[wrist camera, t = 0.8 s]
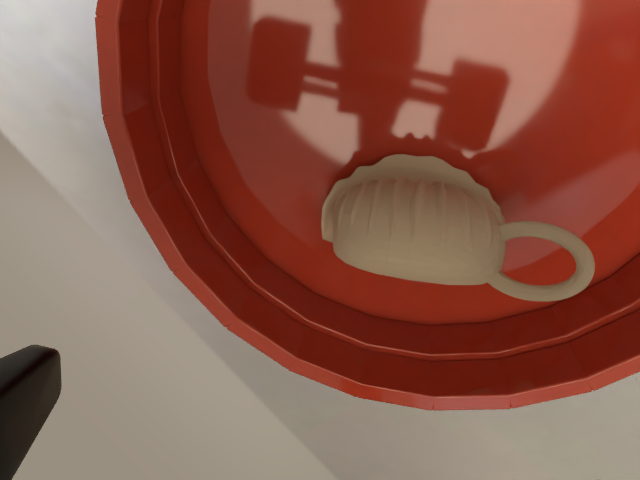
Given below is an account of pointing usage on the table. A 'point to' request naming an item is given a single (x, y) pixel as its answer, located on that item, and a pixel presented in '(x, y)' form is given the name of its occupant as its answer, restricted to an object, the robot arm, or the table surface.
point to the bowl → (368, 149)
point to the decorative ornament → (436, 228)
